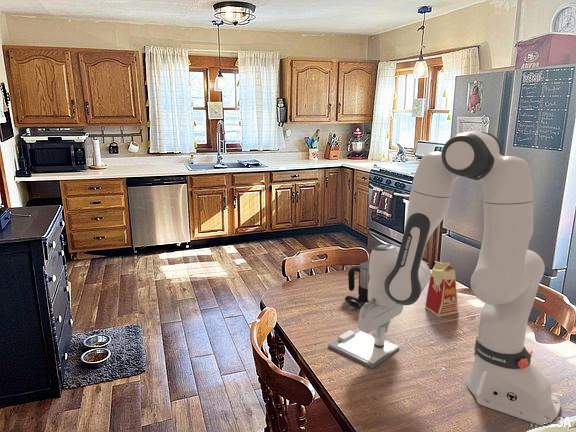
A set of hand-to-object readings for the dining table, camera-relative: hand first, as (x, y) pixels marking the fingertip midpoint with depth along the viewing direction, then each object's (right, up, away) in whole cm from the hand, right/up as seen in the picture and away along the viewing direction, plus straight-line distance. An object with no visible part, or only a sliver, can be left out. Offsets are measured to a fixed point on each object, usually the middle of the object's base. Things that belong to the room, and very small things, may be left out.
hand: (380, 334), depth 138 cm
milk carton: (+29, +2, +28) cm, 40 cm away
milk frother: (+1, +3, +34) cm, 35 cm away
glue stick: (0, -4, +1) cm, 4 cm away
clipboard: (-5, -5, +2) cm, 7 cm away
